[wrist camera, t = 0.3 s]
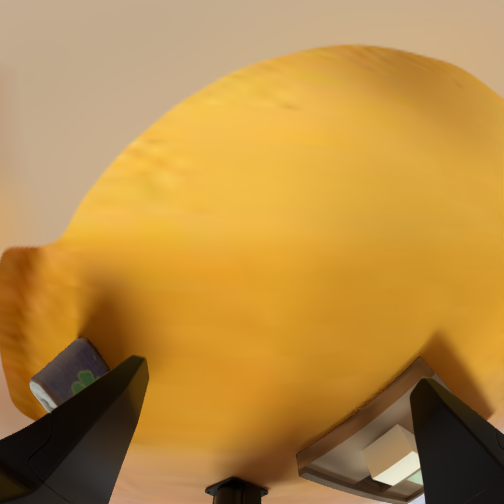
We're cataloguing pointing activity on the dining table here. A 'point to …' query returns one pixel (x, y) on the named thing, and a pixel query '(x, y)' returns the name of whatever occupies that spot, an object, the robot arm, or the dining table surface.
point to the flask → (68, 374)
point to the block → (392, 456)
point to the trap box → (367, 444)
